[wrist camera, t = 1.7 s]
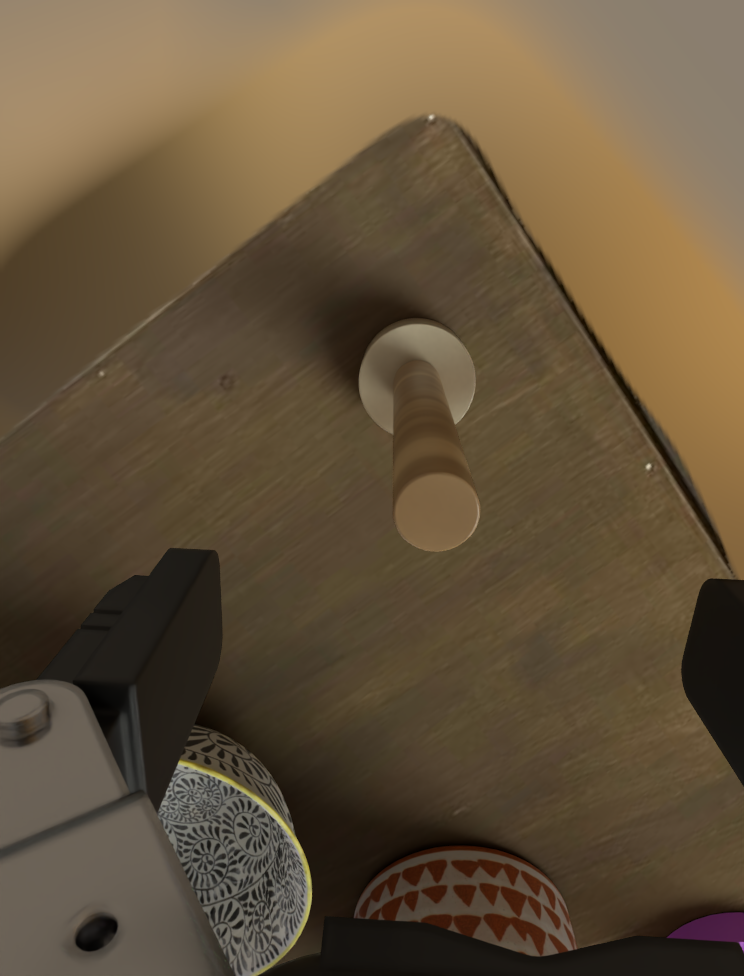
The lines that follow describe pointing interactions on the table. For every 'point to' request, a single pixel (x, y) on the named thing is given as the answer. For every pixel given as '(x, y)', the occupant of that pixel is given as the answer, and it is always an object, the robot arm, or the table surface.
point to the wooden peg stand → (424, 428)
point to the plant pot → (473, 898)
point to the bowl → (238, 850)
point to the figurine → (714, 928)
